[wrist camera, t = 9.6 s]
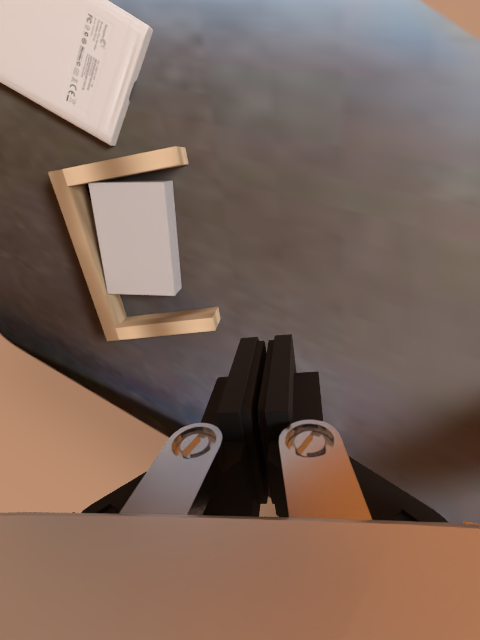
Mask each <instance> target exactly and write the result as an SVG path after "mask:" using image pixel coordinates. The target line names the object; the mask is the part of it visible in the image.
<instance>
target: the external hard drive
mask: <svg viewBox="0 0 480 640" xmlns="http://www.w3.org/2000/svg"><path fill="white" fill-rule="evenodd" d="M152 33H153V29H152V28H151V27H149V26H148V25H147V24H145V23H143V22H142V21H140V20H139V19H137V18H135V17H134V16H132V15H130V14H129V13H127V12H126V11H124V10H122V9H121V8H119V7H118V6H116V5H114V4H113V3H111V2H110V1H108V0H0V82H1V83H2V84H4V85H6V86H8V87H9V88H11V89H13V90H15V91H16V92H18V93H20V94H22V95H23V96H25V97H27V98H29V99H30V100H32V101H34V102H35V103H37V104H39V105H41V106H42V107H44V108H46V109H48V110H49V111H51V112H53V113H55V114H56V115H58V116H60V117H62V118H63V119H65V120H67V121H68V122H70V123H72V124H74V125H75V126H77V127H79V128H81V129H83V130H84V131H86V132H88V133H89V134H91V135H93V136H95V137H97V138H98V139H100V140H102V141H103V142H105V143H107V144H109V145H110V146H115V145H116V142H117V139H118V135H119V132H120V129H121V126H122V123H123V120H124V117H125V114H126V111H127V108H128V105H129V96H130V93H131V90H132V87H133V84H134V82H135V81H136V80H137V78H138V75H139V72H140V69H141V66H142V63H143V60H144V57H145V54H146V51H147V48H148V45H149V42H150V39H151V36H152Z"/></svg>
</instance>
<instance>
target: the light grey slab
mask: <svg viewBox="0 0 480 640" xmlns="http://www.w3.org/2000/svg"><path fill="white" fill-rule="evenodd" d="M88 185H89V190H90V196H91V202H92V207H93V213H94V219H95V224H96V230H97V236H98V241H99V247H100V252H101V258H102V264H103V269H104V275H105V281H106V286H107V292H108V294H134V295H165V296H175V295H176V294H177V293H178V291H179V290H180V289H181V288H182V287H181V276H180V264H179V252H178V240H177V229H176V217H175V205H174V193H173V182H172V181H99V182H91V183H88Z"/></svg>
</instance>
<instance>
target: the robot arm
mask: <svg viewBox="0 0 480 640" xmlns="http://www.w3.org/2000/svg"><path fill="white" fill-rule="evenodd" d="M268 488H270V494H271V500H272V503H273V504H275V509H276V514H277V515H278V516H279V517H259V511H260V504H266V503H267V499H268ZM0 640H480V524H475V523H470V522H465V521H464V524H462V523H448V522H447V521H446V519H445V518H443V517H442V516H441V515H440V514H438V513H437V512H436V511H435V510H433V509H431V508H430V507H428V506H427V505H425V504H424V503H422V502H420V501H419V500H417V499H416V498H414V497H412V496H411V495H409V494H408V493H406V492H404V491H403V490H401V489H400V488H398V487H396V486H395V485H393V484H392V483H390V482H389V481H387V480H385V479H384V478H382V477H381V476H379V475H377V474H376V473H374V472H373V471H371V470H369V469H368V468H366V467H365V466H363V465H362V464H360V463H358V462H357V461H355V460H354V459H352V458H350V457H349V456H348V455H347V452H346V449H345V447H344V444H343V441H342V439H341V436H340V434H339V433H338V431H337V430H336V429H335V428H334V427H333V426H331V425H330V424H328V423H325V422H323V415H322V405H321V395H320V384H319V374H318V372H304V373H296V366H295V357H294V348H293V339H292V334H290V335H277V336H275V338H274V340H269V342H268V348H267V353H266V347H265V342H264V341H259V339H258V337H251V338H241V340H240V343H239V346H238V349H237V352H236V355H235V358H234V361H233V364H232V367H231V370H230V373H229V376H228V377H219V378H218V379H217V381H216V384H215V386H214V389H213V392H212V394H211V397H210V400H209V402H208V405H207V407H206V410H205V413H204V415H203V418H202V421H201V423H195V424H191V425H188V426H185V427H183V428H181V429H179V430H178V431H177V432H175V433H174V434H173V435H172V436H171V437H170V438H169V440H168V441H167V442H166V444H165V446H164V447H163V448H162V450H161V452H160V453H159V455H158V456H157V457H156V459H155V460H154V462H153V463H152V465H151V466H150V468H149V469H148V471H147V472H145V473H143V474H142V475H140V476H138V477H137V478H135V479H133V480H132V481H130V482H128V483H127V484H125V485H123V486H122V487H120V488H118V489H117V490H115V491H113V492H112V493H110V494H108V495H107V496H105V497H103V498H102V499H100V500H98V501H97V502H95V503H93V504H92V505H90V506H89V507H87V508H86V509H85V510H83V511H82V513H75V512H73V513H41V512H39V513H38V512H22V513H21V512H17V513H0Z"/></svg>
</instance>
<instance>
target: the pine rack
mask: <svg viewBox="0 0 480 640" xmlns="http://www.w3.org/2000/svg"><path fill="white" fill-rule="evenodd" d="M183 165H188V159H187V154H186V149H185V147H177V146H175V147H170V148H165V149H160V150H155V151H150V152H145V153H140V154H135V155H130V156H125V157H121V158H116V159H111V160H106V161H101V162H96V163H91V164H86V165H81V166H76V167H71V168H66V169H62V170H57V171H52V172H48V174H49V177H50V180H51V182H52V185H53V188H54V191H55V194H56V197H57V200H58V202H59V205H60V208H61V211H62V214H63V217H64V219H65V222H66V225H67V228H68V231H69V234H70V237H71V239H72V242H73V245H74V248H75V251H76V254H77V257H78V259H79V262H80V265H81V268H82V271H83V274H84V277H85V279H86V282H87V285H88V288H89V291H90V294H91V297H92V299H93V302H94V305H95V308H96V311H97V314H98V317H99V319H100V322H101V325H102V328H103V331H104V334H105V337H106V339H107V341H114V340H124V339H134V338H144V337H154V336H164V335H174V334H184V333H194V332H204V331H214V330H216V328H217V325H218V323H219V321H220V314H219V309H218V307H210V308H201V309H193V310H184V311H175V312H166V313H157V314H148V315H139V316H131V317H127V316H126V313H125V309H124V306H123V303H122V300H121V297H120V294H108V292H107V286H106V281H105V275H104V269H103V264H102V258H101V252H100V247H99V241H98V236H97V230H96V224H95V219H94V213H93V208H92V205H91V202H90V199H89V196H88V193H87V189H86V186H85V184H88V183H91V182H99V181H105V180H110V179H115V178H120V177H125V176H131V175H136V174H141V173H146V172H151V171H157V170H162V169H167V168H172V167H177V166H183Z"/></svg>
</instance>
